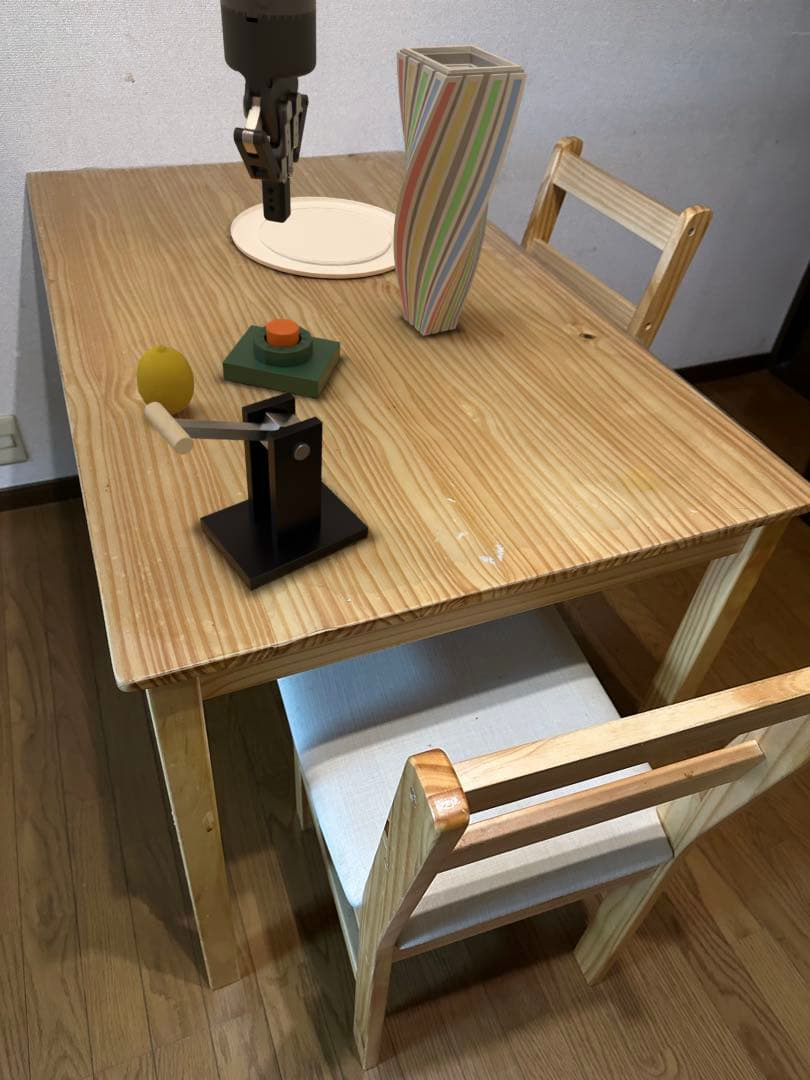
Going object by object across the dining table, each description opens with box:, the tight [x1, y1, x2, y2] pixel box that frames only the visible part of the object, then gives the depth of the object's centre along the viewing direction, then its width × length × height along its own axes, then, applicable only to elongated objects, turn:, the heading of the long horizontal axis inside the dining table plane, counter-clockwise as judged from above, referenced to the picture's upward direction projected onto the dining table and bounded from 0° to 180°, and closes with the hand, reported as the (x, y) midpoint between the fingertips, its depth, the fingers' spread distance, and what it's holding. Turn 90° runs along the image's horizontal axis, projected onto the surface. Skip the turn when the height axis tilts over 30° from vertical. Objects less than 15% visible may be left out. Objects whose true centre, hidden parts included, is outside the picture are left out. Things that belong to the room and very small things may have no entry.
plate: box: [229, 196, 396, 279], centre depth 115 cm, size 28×28×1 cm
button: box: [265, 318, 300, 347], centre depth 85 cm, size 4×4×2 cm
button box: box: [221, 324, 341, 399], centre depth 87 cm, size 11×9×4 cm
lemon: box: [136, 344, 195, 416], centre depth 77 cm, size 6×6×8 cm
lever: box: [143, 402, 302, 456], centre depth 58 cm, size 12×5×2 cm, turn 128°
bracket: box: [199, 392, 369, 590], centre depth 65 cm, size 12×9×13 cm
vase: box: [393, 44, 528, 336], centre depth 89 cm, size 14×14×30 cm
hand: (277, 218), depth 73 cm, fingers closed
